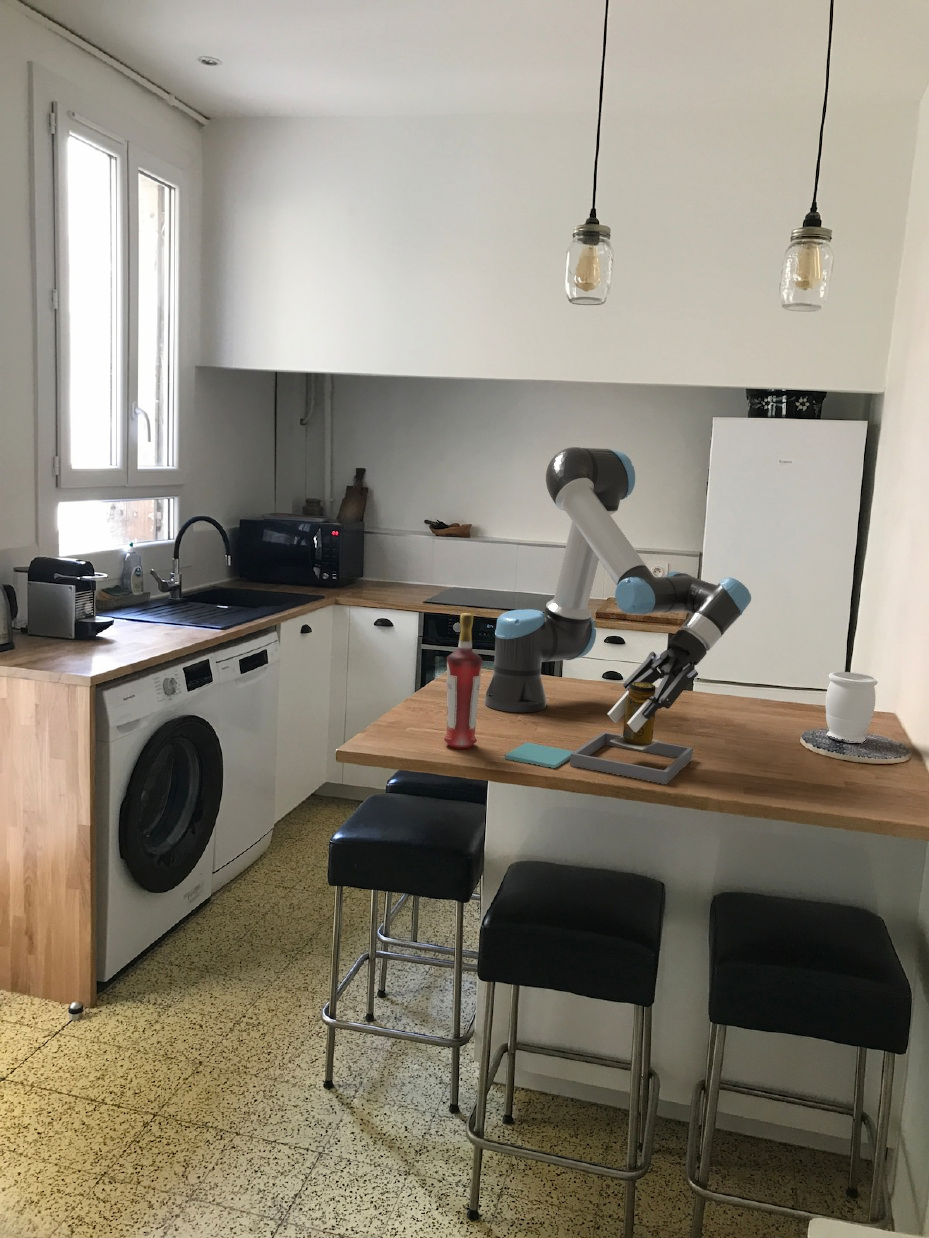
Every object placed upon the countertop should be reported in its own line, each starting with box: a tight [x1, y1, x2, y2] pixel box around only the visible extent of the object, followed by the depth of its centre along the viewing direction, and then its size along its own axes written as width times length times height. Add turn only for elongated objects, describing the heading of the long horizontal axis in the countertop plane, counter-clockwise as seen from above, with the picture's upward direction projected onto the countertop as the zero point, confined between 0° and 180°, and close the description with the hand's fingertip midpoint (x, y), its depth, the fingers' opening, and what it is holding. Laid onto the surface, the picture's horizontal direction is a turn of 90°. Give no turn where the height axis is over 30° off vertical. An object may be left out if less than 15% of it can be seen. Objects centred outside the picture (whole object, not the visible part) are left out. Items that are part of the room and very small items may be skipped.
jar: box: [825, 671, 879, 742], centre depth 223 cm, size 11×10×15 cm
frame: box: [569, 731, 694, 785], centre depth 198 cm, size 20×20×2 cm
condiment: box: [610, 682, 661, 750], centre depth 196 cm, size 7×8×12 cm
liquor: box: [443, 613, 483, 750], centre depth 201 cm, size 7×7×28 cm
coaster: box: [504, 742, 575, 769], centre depth 198 cm, size 11×11×1 cm
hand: (621, 722), depth 195 cm, fingers closed on condiment, 6 cm apart
